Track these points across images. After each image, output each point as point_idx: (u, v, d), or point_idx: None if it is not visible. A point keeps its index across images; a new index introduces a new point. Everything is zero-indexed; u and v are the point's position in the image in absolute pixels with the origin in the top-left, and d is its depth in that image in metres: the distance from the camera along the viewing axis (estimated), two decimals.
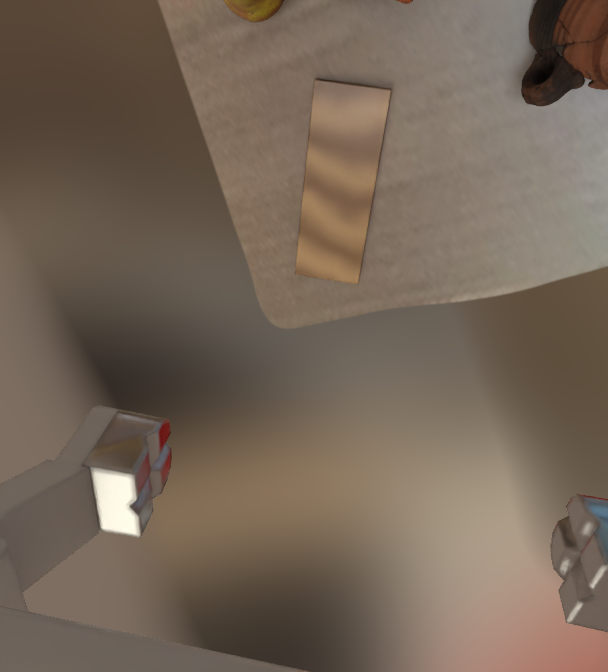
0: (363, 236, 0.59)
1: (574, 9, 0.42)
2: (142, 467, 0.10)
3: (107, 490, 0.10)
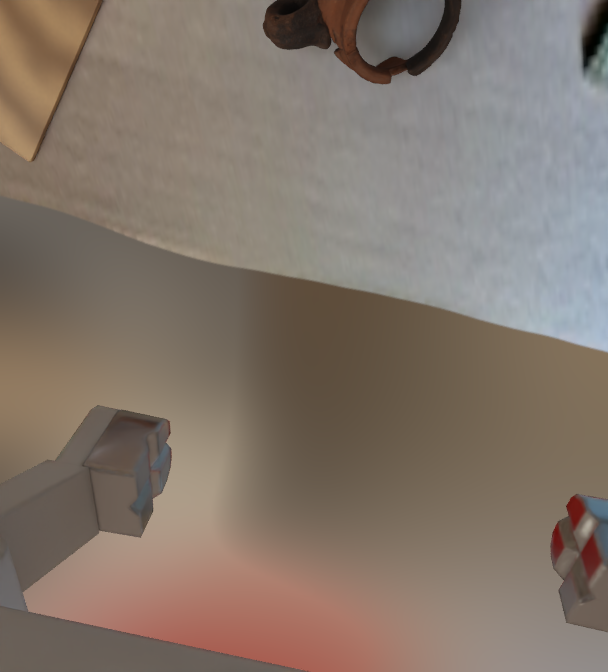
0: (51, 105, 0.45)
1: None
2: (142, 467, 0.10)
3: (107, 490, 0.10)
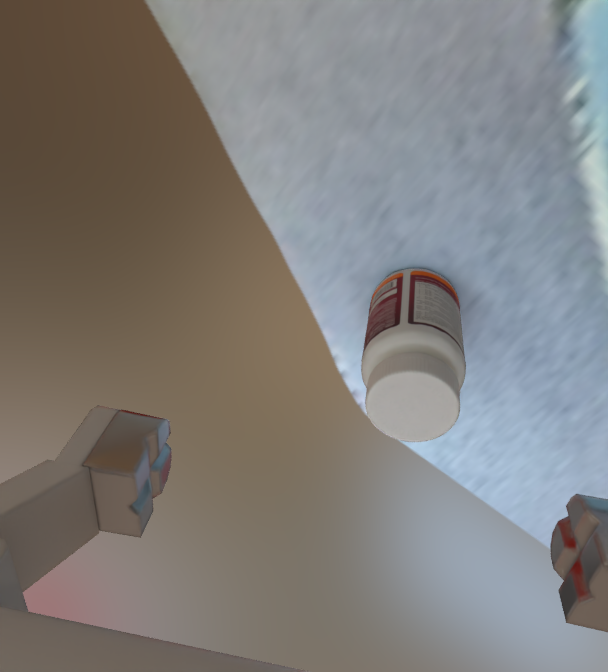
0: None
1: None
2: (142, 467, 0.10)
3: (107, 490, 0.10)
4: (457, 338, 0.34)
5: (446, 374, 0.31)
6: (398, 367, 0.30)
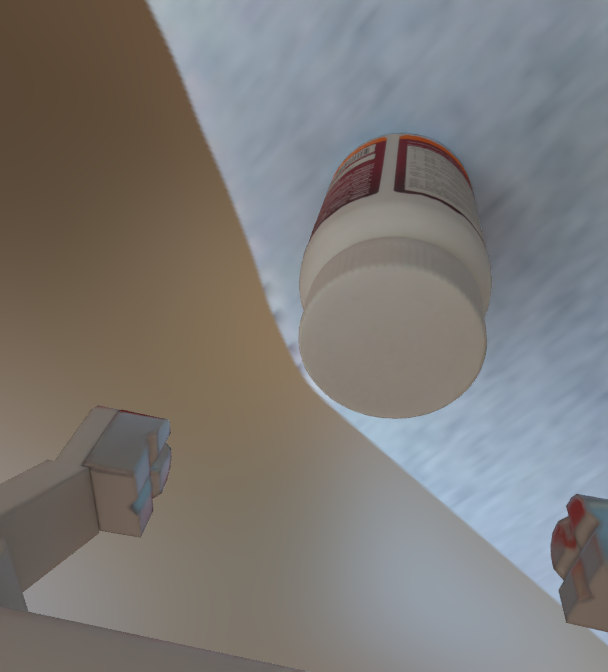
0: None
1: None
2: (142, 467, 0.10)
3: (107, 490, 0.10)
4: (480, 234, 0.18)
5: (466, 282, 0.15)
6: (371, 258, 0.15)
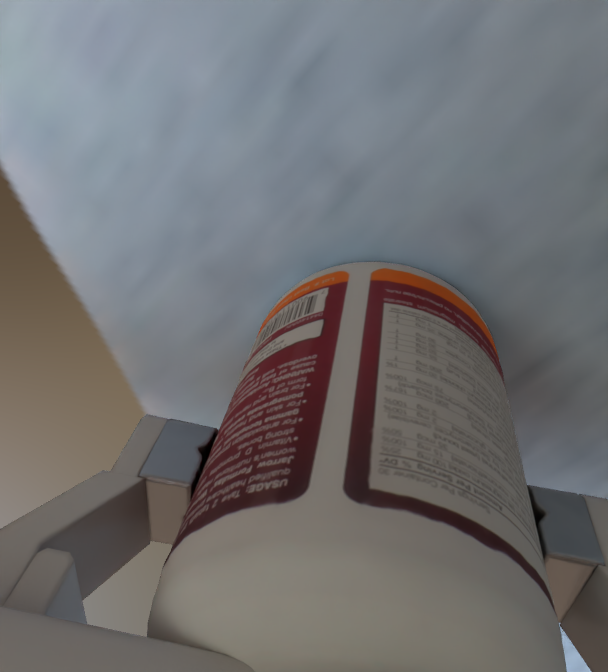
0: None
1: None
2: (197, 477, 0.10)
3: (162, 501, 0.10)
4: (537, 555, 0.08)
5: None
6: None
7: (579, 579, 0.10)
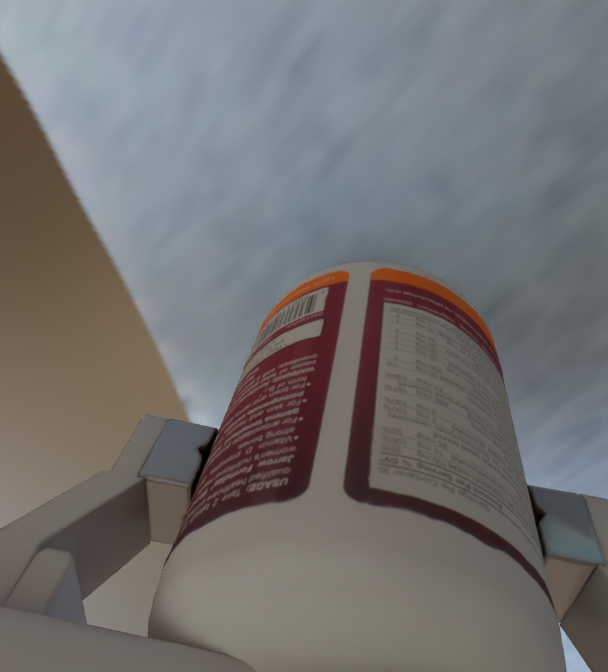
0: None
1: None
2: (197, 477, 0.10)
3: (162, 501, 0.10)
4: (537, 553, 0.08)
5: None
6: None
7: (579, 579, 0.10)
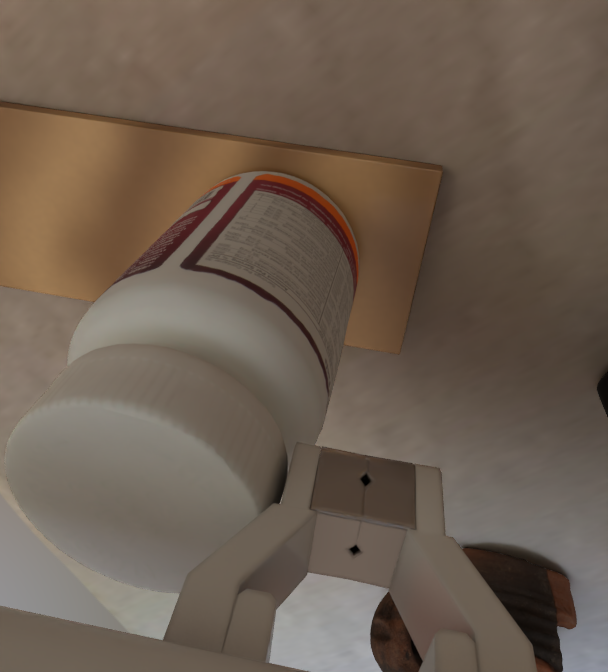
0: (36, 287, 0.22)
1: None
2: (365, 509, 0.10)
3: (329, 533, 0.10)
4: (313, 323, 0.13)
5: (233, 422, 0.10)
6: (82, 385, 0.10)
7: (395, 543, 0.10)
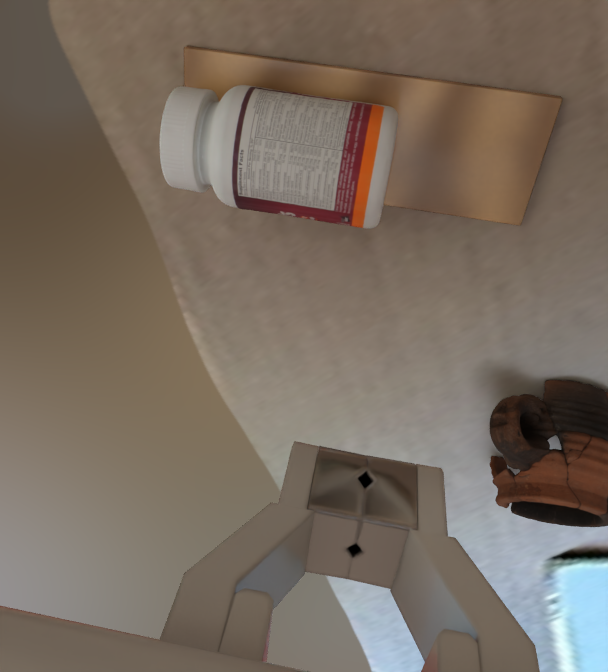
0: None
1: (602, 457, 0.36)
2: (362, 509, 0.10)
3: (327, 533, 0.10)
4: (250, 132, 0.27)
5: (178, 112, 0.28)
6: (188, 87, 0.29)
7: (397, 543, 0.10)
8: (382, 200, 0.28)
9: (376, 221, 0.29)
